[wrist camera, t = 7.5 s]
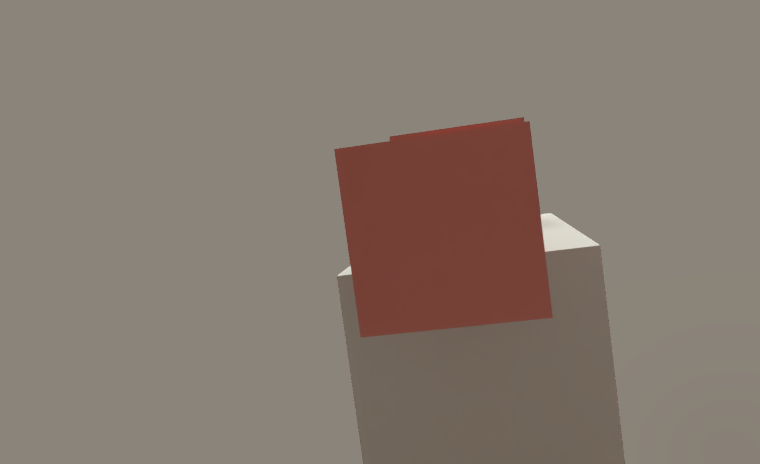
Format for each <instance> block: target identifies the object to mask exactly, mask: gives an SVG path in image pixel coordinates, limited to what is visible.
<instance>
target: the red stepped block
mask: <svg viewBox="0 0 760 464" xmlns="http://www.w3.org/2000/svg"><path fill="white" fill-rule="evenodd" d="M335 157H336V163H337V171H338V178H339V185H340V193H341V200H342V207H343V214H344V222H345V229H346V236H347V243H348V250H349V257H350V264H351V272H352V279H353V286H354V293H355V301H356V308H357V315H358V322H359V329H360V337H371V336H381V335H390V334H400V333H410V332H420V331H429V330H439V329H449V328H458V327H468V326H478V325H487V324H497V323H507V322H516V321H526V320H536V319H546V318H553V315H552V307H551V298H550V290H549V282H548V273H547V265H546V257H545V248H544V240H543V231H542V223H541V215H540V207H539V198H538V190H537V182H536V173H535V164H534V156H533V148H532V139H531V131H530V123H529V122H524V118H516V119H509V120H502V121H495V122H488V123H482V124H475V125H467V126H460V127H454V128H447V129H440V130H434V131H426V132H419V133H412V134H405V135H399V136H391V137H390V141H389V142H382V143H375V144H368V145H361V146H354V147H347V148H340V149H335Z"/></svg>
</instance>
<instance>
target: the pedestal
mask: <svg viewBox="0 0 760 464" xmlns="http://www.w3.org/2000/svg"><path fill="white" fill-rule="evenodd" d="M540 215H541V223H542V231H543V240H544V248H545V257H546V265H547V273H548V282H549V290H550V298H551V307H552V315H553V318H546V319H536V320H526V321H516V322H507V323H497V324H487V325H478V326H468V327H458V328H449V329H439V330H429V331H420V332H410V333H400V334H390V335H381V336H371V337H360V329H359V322H358V315H357V308H356V301H355V293H354V286H353V279H352V272H351V266H349V267H348V268H347V269H345V270H344V271H343V272H342V273H340V274H339V275H338V276H337V280H338V287H339V294H340V301H341V309H342V316H343V323H344V330H345V336H346V344H347V351H348V358H349V365H350V372H351V380H352V387H353V394H354V400H355V408H356V415H357V422H358V429H359V436H360V444H361V451H362V458H363V464H625V461H624V451H623V442H622V434H621V425H620V416H619V408H618V398H617V389H616V380H615V372H614V363H613V354H612V347H611V337H610V329H609V319H608V310H607V301H606V292H605V284H604V275H603V267H602V258H601V249H600V245H599V244H597V243H596V242H594V241H593V240H591V239H590V238H588V237H587V236H585V235H584V234H582V233H580V232H579V231H577V230H576V229H574V228H573V227H571V226H570V225H568V224H567V223H565V222H564V221H562V220H560V219H559V218H557V217H556V216H554V215H553V214H551V213H548V214H540Z"/></svg>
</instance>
